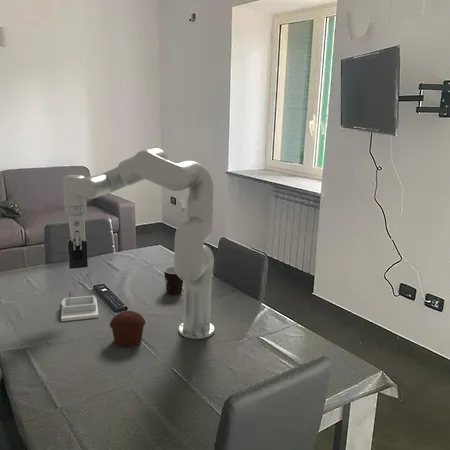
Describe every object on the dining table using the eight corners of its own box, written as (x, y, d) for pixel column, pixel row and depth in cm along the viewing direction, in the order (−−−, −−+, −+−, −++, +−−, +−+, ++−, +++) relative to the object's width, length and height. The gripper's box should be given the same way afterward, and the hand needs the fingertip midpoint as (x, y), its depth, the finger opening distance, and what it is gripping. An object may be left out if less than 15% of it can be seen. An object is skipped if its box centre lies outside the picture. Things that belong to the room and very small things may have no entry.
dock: (98, 317, 170) (98, 308, 169) (61, 321, 166) (60, 312, 165) (95, 290, 194) (94, 282, 193) (62, 293, 190) (62, 284, 189)
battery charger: (87, 264, 173) (86, 235, 171) (88, 267, 170) (87, 238, 167) (68, 266, 171) (66, 236, 168) (68, 269, 167) (67, 239, 165)
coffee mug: (183, 296, 191) (183, 274, 188) (162, 295, 191) (162, 273, 188) (186, 286, 202) (186, 264, 200) (166, 285, 202) (166, 263, 200)
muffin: (110, 351, 148) (109, 322, 145) (109, 334, 158) (108, 307, 155) (147, 347, 151) (147, 319, 148) (144, 331, 161) (144, 305, 159)
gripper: (87, 214, 158) (89, 264, 163) (85, 204, 174) (87, 250, 178) (64, 215, 156) (67, 266, 161) (64, 204, 171) (67, 251, 176)
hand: (78, 257), depth 169 cm, fingers closed on battery charger, 4 cm apart
